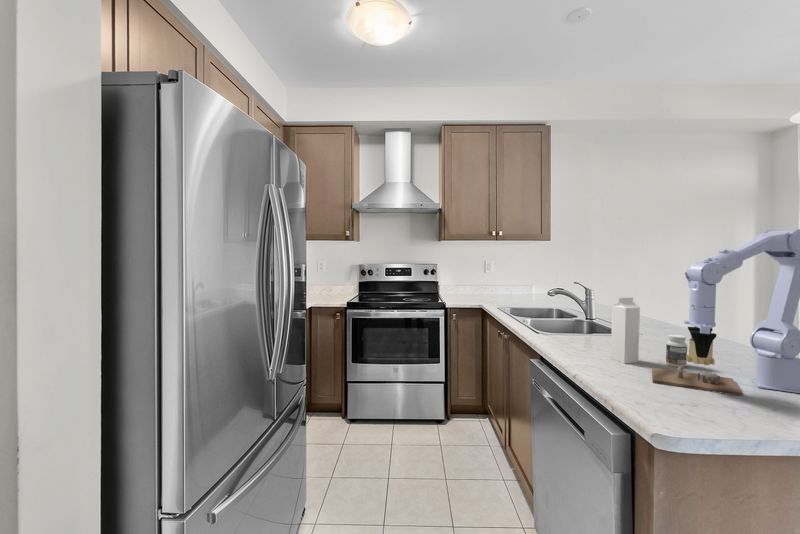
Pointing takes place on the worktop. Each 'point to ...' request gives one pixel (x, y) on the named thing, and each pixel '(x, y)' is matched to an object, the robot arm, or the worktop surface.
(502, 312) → the worktop surface
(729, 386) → the carrier plate
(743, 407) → the worktop surface
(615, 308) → the milk
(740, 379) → the worktop surface
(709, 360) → the gear
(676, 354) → the pill bottle
